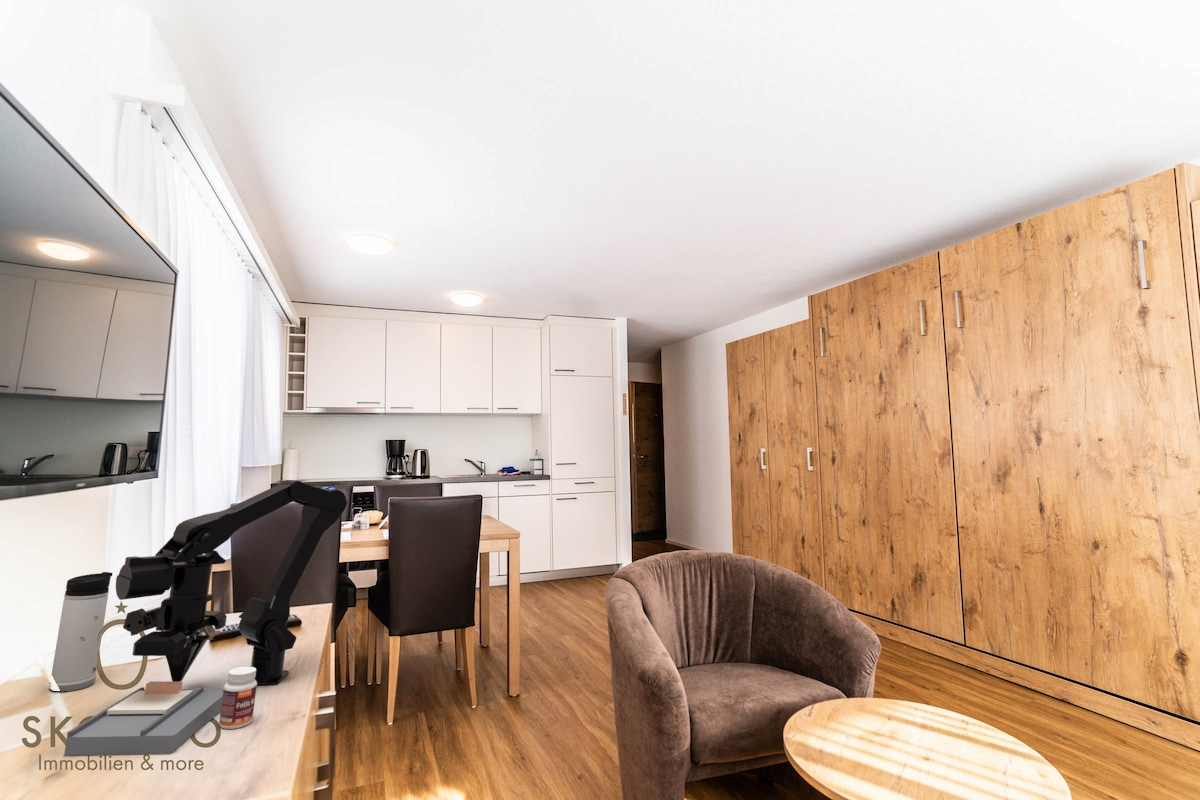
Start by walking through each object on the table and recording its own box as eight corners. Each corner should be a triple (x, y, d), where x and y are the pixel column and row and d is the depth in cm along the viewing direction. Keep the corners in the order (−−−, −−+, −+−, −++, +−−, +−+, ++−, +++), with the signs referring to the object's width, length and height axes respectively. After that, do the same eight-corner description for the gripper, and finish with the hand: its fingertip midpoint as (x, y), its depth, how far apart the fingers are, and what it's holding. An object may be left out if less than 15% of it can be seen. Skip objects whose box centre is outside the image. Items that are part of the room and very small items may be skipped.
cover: (138, 694, 97) (140, 680, 98) (192, 694, 99) (194, 680, 99) (106, 714, 89) (108, 699, 90) (165, 713, 91) (167, 699, 91)
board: (141, 704, 100) (144, 685, 100) (229, 703, 102) (231, 684, 102) (64, 755, 82) (67, 732, 83) (171, 753, 84) (174, 730, 85)
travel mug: (104, 682, 108) (121, 573, 111) (62, 694, 102) (81, 579, 104) (83, 677, 110) (100, 570, 113) (40, 688, 104) (59, 575, 106)
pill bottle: (236, 731, 92) (243, 676, 93) (211, 727, 93) (218, 673, 94) (259, 719, 97) (265, 667, 98) (235, 715, 98) (242, 663, 99)
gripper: (170, 579, 111) (158, 664, 109) (103, 602, 93) (88, 704, 91) (232, 581, 113) (221, 664, 111) (179, 603, 94) (165, 703, 92)
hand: (177, 682), depth 101 cm, fingers closed
